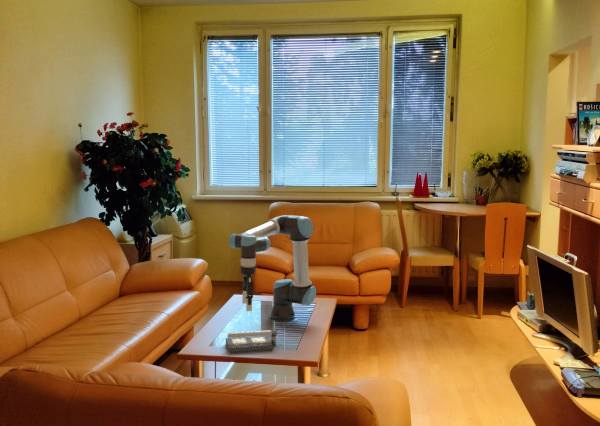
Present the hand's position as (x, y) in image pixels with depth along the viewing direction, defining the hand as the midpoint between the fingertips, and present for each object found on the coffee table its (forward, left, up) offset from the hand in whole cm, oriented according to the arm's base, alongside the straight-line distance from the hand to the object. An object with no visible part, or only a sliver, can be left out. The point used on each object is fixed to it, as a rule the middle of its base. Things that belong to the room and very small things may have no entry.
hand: (247, 307), depth 272 cm
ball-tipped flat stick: (-4, -2, -16) cm, 17 cm away
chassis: (-3, -2, -22) cm, 22 cm away
